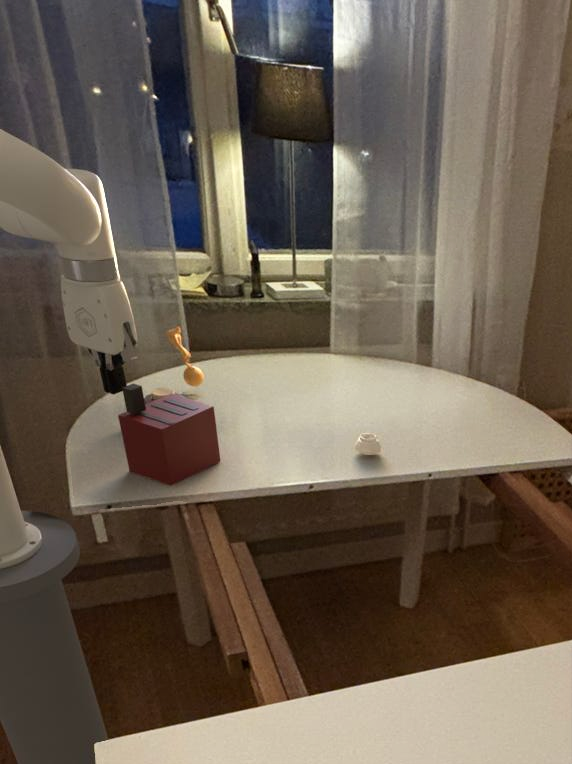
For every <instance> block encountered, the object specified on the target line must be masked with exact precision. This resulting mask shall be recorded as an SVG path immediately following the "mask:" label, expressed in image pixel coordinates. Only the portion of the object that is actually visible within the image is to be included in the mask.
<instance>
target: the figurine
mask: <svg viewBox="0 0 572 764" xmlns="http://www.w3.org/2000/svg"><path fill="white" fill-rule="evenodd" d="M181 333H182V330H181V327H180V326H175V327H174V328H172V329H169V330H168V331H166V337H167V338H168V340H169V341H170V343H171V344H173V345H174V347H175V349H177V350H178V351H179V352H180V354H181V355H183V356H182V359H183V363H184V365H185V366H186V368H185V369H184V371H183V374H182V377H183V380H184V382H185V383H186V384H187V385H189V386H190V387H194V388H195V387H199V386H201V385H202V384H203V383H204V380H205V379H204V378H205V375H204V373H203V371H202V370H201V369H200V367H197V366H194V365H193V364H190V363H189V360H190V359H191V357H192V355H191V353H190V352H189V351H188V349H186V348H185V347H184V346H183V345H182V336H181Z"/></svg>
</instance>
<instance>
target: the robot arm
mask: <svg viewBox="0 0 572 764" xmlns="http://www.w3.org/2000/svg"><path fill="white" fill-rule="evenodd" d="M0 228H1V229H2V230H4V231H5V232H7V233H9V234H12V235H14V236H18V237H22V238H27V239H32V240H37V241H43V242H49V243H53V244H56V247H57V252H58V256H59V260H60V261H59V262H60V265H61V269H62V275H61V276H60V292H61V301H62V307H63V308H62V309H63V315H64V321H65V326H66V330H67V335H68V337H69V339H70V340H71V342H72V343H74V344H76V345H77V346H80V347H81V348H82V349H84V350H85V351H87V352H89V353H90V355H91V356H92V358H93V361H94V364H95V366H96V367H98V368H99V369H98V370H99V373H100V378H101V382H102V383H101V384H102V387H103V391H104V393H107V394H110V395H116V394H119V393H123V390H122V388H123V387H125V386H128V385H127V380H126V375H125V370H124V367H125V366H126V363H127V362H132V361H135V360H137V359H138V356H137V353H136V350H135V349H136V348H137V347H138V342H139V341H138V334H137V329H136V323H135V319H134V314H133V310H132V307H131V304H130V300H129V296H128V293H127V290H126V288H125V285H124V282H123V280H121V275H120V271H119V270H120V269H119V265H118V259H117V255H116V254H117V253H116V249H115V243H114V238H113V232H112V227H111V221H110V215H109V211H108V206H107V200H106V194H105V190H104V186H103V182H102V180H101V179H100V177H99V176H98V175H97V174H95V173H94V172H92V171H89V170H85V169H79V168H78V169H77V168H65V167H63V166H62V165H61V164H60V163H58V162H57V161H56V160H54V159H53V158H51V156H49V155H47V154H46V153H44V152H42V151H41V150H39V149H38V148H36V147H34V146H33V145H31V144H29V143H27V142H25V141H24V140H22V139H20V138H19V137H16V136H15V135H13V134H10V133H9V132H7V131H5V130H3V129H2V128H0ZM42 542H43V540H42V536H41V533H40V531H39V529H38V528H37V527H35V526H34V525H32V524H30V523H27V522H24V519H23V516H22V513H21V507H20V503H19V500H18V497H17V494H16V491H15V487H14V484H13V481H12V477H11V474H10V471H9V468H8V465H7V461H6V459H5V456H4V453H3V449H2V445H0V569H3V568H7V567H10V566H14V565H16V564H19V563H21V562H23V561H25V560H27V559H29V558H30V557H32V556H33V555H34V554H35V553H36V552H37V551H38V550H39V549H40V547H41V546H42Z"/></svg>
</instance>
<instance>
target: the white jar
mask: <svg viewBox="0 0 572 764" xmlns="http://www.w3.org/2000/svg"><path fill="white" fill-rule="evenodd" d="M353 448H354V450H355V452H357V453H359V454H361V455H364V456H365V455H367V456H371V455H377V454H379V453H381V452H382V449H383V447H382V445H381V443H380V441H379V439H378V437H377V435H376V434H374V433H372V432H364V433H360V434H359V437H358V438H357V440H356V442H355V444H354V447H353Z"/></svg>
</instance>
